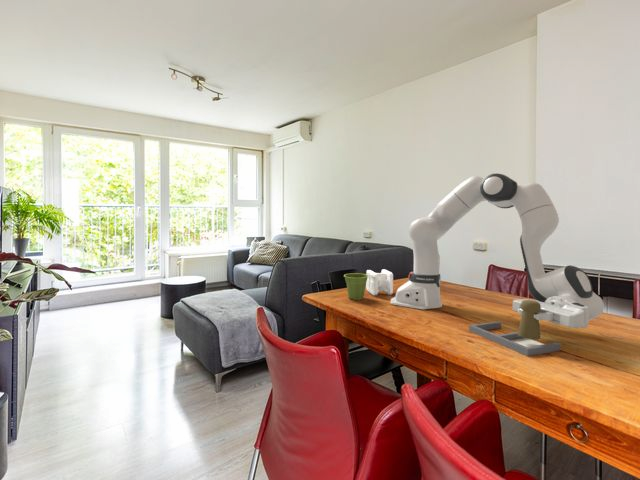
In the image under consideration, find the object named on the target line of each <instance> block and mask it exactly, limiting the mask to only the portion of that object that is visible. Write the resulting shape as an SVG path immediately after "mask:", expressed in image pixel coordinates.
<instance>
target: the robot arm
mask: <svg viewBox="0 0 640 480" xmlns="http://www.w3.org/2000/svg"><path fill="white" fill-rule="evenodd" d="M484 201H485V202H488V203H489V204H491V205H494V206H496V207H497V208H500V209H511V208H515V209H516V211H517V213H518V217H519V218H520V221H521V228H522V229H521V230H522V231H521V235H520V239H519V243H520V249H521V253H522V254H521V255H522V258H523V262H524V267H525V271H526V274H527V275H526V276H527V277H526V278H527V288H528V291H529V294H530V296H531V297H533V299H531V298H528V299H527V298H522V299H521V298H519V299H514V300H512V311H514V312H516V313H517V314H518V315H520V316H522V311H523V310H522V309H521V302H522V301H524V300H533V301H536V302H538V303H540V306H541V309H540V311H539V312H538V313H534V314H533V315H534V319H536V320H539V321H547V322H551V323H552V324H554V325H558V326H564V327H566V328H569V329H570V328H571V329H586V328H587V329H588V327H589V322H590V321H591V320H594V319H596V318H598V317H600V316H601V315H602V313H603V312H604V309H605V304H604V301H603V299H602V297H600V296H599V295H597V294H596V293H595V292H594V291H593V290H594V289H593V284H592V281H591V278H590V277H589V275H588V274H587V273H586V272H585V271H584V270H582V268H579V267H577V266H575V265H566V266H563V267H560V268H556V269H554V270H552V271H548V272H545V268H544V263H543V260H542V255H541V248H542V245H543V244H544V243H545V241H546V240H547V239H548V238H549V237H550V236H551V235H552V234H553V233H554V232H555V231H556V229H557V228H558V225H559V223H560V220H559V219H560V218H559V214H558V212H557V209H556V207H555V204H554V203H553V201H552V199H551V196H550V195H549V194H548V192H547V191H546V190H545V189H544V187H543V185H541V184H540V183H536V182H528V183H524V184H521V185H519V184H518V183H517V181H516V180H514V179H512V178H510V177H509V176H507V175H505V174H503V173H491V174H488V175H487V176H485V177H484V178H482V177H481V176H479V175H472V176H470V177H468V178H467V179H465V180H464V181H462V182H461V183H459V184H458V185H456V186H455V187H454V188H453V189H452V190H451V191H450V192H449V193H448V194H447V195H445V197H443V198H442V199H441V200H440V201H439V202H438V203H437V204H436V206H435V207H434V208H433V210H432V211H431V212H430V213H428V215H427V216H425V217H420V218H417V219H415V220H414V221H412V223H411V224H410V226H409V228H408V233H409V237H410V238H411V239H410V240H411V246H412V251H413V252H412V253H413V271H411V272H409V273H408V281H406V282H404V283H403V284H402V285H400V286H399V287H398V288H397V290H396V292H395V296H394V297H391V299H390V304H391V305H395V306H400V307H406V308H410V309H411V308H412V309H417V310H428V309H439V308H441V307H443V303H442V298H441V291H440V290H441V289H440V287H441V273H440V265H441V263H440V262H441V261H440V260H441V257H440V253H439V247H438V240H440V239H441V238H442V237H443V236H444V235H445V234H446V233H447V232H448V231H450V230H451V228H452V227H454V226H455V224H456V223H457V222H459V221H460V220H461V219H462V218H463V217H464V216H465V215H467V214H468V213H469V212H470V211H471V210H472V209H474V208H475V207H476V206H477V205H478V204H480V203H481V202H484Z"/></svg>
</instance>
